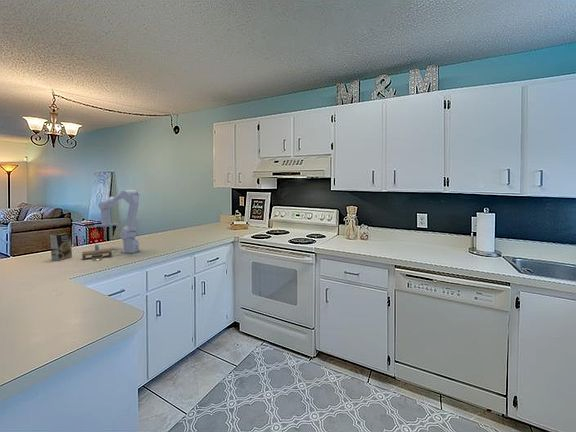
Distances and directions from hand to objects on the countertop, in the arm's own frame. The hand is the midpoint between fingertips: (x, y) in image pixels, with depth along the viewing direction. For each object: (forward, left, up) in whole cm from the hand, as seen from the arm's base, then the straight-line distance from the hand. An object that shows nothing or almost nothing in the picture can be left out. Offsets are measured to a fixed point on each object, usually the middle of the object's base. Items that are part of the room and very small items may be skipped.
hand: (107, 236), depth 218 cm
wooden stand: (-10, +22, -9) cm, 26 cm away
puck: (-15, +28, -10) cm, 34 cm away
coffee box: (+10, +28, -10) cm, 31 cm away
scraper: (-8, +20, -10) cm, 24 cm away
